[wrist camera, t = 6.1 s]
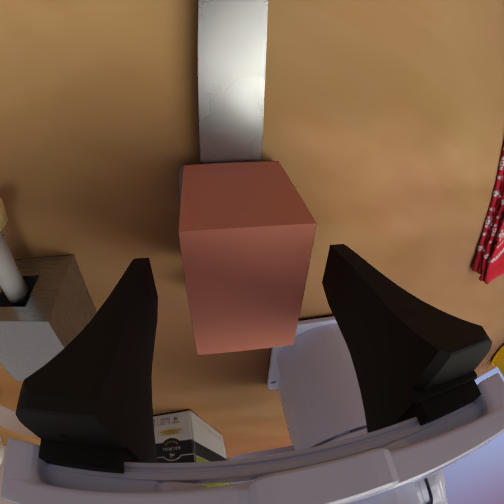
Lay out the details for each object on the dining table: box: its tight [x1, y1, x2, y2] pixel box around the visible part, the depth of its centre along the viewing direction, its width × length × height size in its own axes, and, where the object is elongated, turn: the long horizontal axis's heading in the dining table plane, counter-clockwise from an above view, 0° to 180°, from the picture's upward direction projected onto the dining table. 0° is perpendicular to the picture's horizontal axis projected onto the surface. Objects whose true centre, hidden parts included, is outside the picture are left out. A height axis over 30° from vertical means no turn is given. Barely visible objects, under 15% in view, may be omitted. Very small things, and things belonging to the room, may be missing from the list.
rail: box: [198, 0, 268, 164], centre depth 12 cm, size 18×3×3 cm, turn 178°
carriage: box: [178, 161, 316, 355], centre depth 13 cm, size 6×4×6 cm
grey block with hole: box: [0, 255, 97, 381], centre depth 15 cm, size 6×6×5 cm
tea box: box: [153, 410, 231, 488], centre depth 26 cm, size 15×10×15 cm
